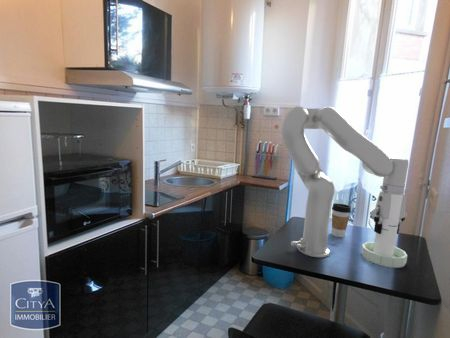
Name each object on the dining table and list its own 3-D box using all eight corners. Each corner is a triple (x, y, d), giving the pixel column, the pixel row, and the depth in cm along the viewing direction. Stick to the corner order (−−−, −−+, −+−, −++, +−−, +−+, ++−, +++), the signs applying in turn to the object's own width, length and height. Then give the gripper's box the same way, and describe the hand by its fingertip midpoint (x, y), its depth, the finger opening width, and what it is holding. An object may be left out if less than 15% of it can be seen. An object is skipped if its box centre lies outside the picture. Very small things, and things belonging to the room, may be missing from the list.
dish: (378, 268, 112) (380, 258, 111) (353, 250, 127) (354, 242, 126) (414, 267, 115) (416, 257, 114) (386, 250, 130) (387, 241, 129)
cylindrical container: (395, 258, 116) (406, 195, 113) (376, 255, 118) (385, 193, 114) (389, 251, 123) (399, 191, 120) (371, 248, 125) (379, 189, 121)
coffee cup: (325, 232, 148) (328, 202, 146) (339, 231, 150) (343, 202, 148) (336, 238, 140) (340, 207, 138) (351, 237, 143) (355, 207, 140)
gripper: (379, 190, 111) (372, 236, 114) (420, 191, 115) (412, 236, 117) (366, 186, 119) (360, 229, 121) (404, 187, 122) (398, 229, 125)
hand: (386, 232), depth 119 cm, fingers closed on cylindrical container, 7 cm apart
